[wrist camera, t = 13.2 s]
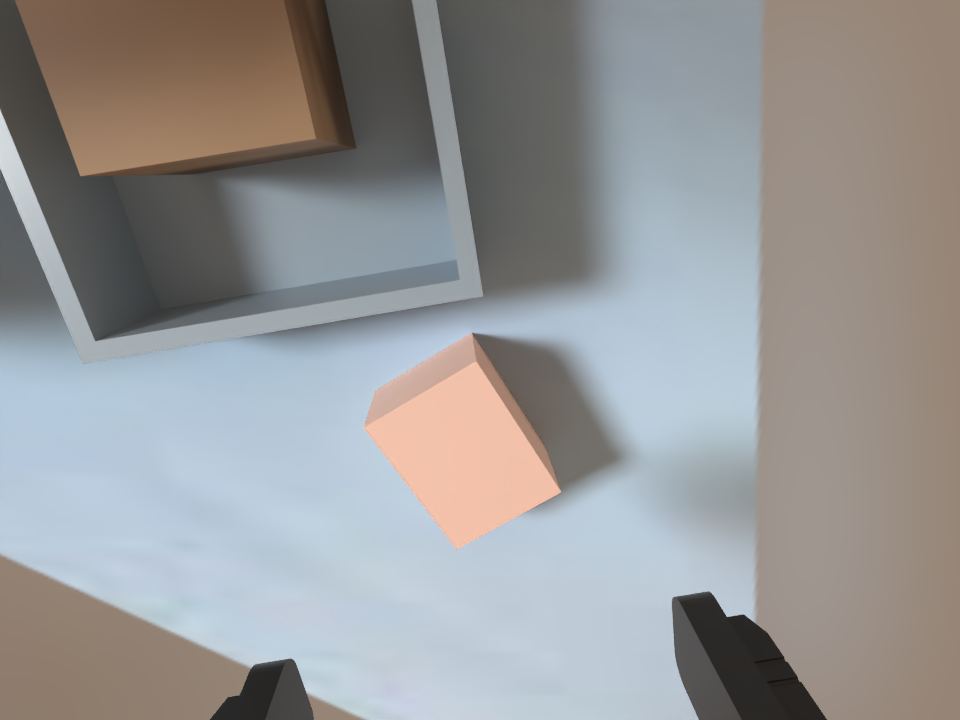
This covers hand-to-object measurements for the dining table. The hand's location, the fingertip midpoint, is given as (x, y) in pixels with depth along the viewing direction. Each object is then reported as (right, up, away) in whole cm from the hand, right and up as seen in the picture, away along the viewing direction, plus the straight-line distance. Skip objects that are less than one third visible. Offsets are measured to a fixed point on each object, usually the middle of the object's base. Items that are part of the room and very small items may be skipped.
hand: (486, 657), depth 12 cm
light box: (-1, +4, +11) cm, 12 cm away
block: (-7, +15, +6) cm, 18 cm away
